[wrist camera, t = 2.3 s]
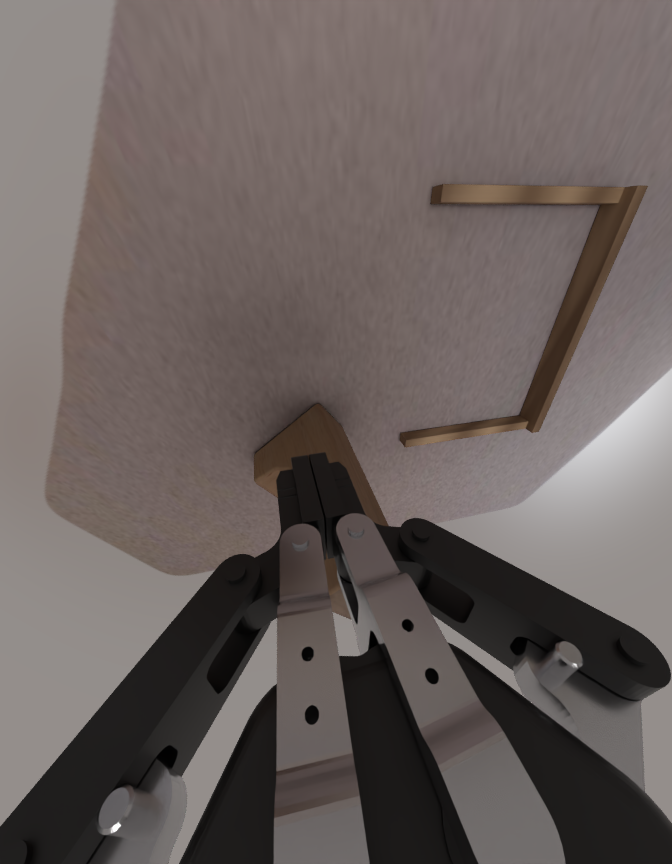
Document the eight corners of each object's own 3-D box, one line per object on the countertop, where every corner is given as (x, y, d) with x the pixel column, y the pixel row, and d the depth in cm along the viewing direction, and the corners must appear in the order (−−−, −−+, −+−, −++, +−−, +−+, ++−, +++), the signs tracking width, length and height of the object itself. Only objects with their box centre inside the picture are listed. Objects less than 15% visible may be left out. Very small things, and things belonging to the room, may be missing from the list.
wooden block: (281, 475, 33) (303, 660, 19) (252, 453, 31) (251, 647, 16) (343, 427, 32) (420, 589, 17) (317, 400, 29) (381, 563, 15)
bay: (615, 189, 25) (648, 185, 23) (523, 421, 38) (538, 431, 36) (432, 187, 22) (451, 181, 20) (399, 440, 35) (408, 452, 33)
